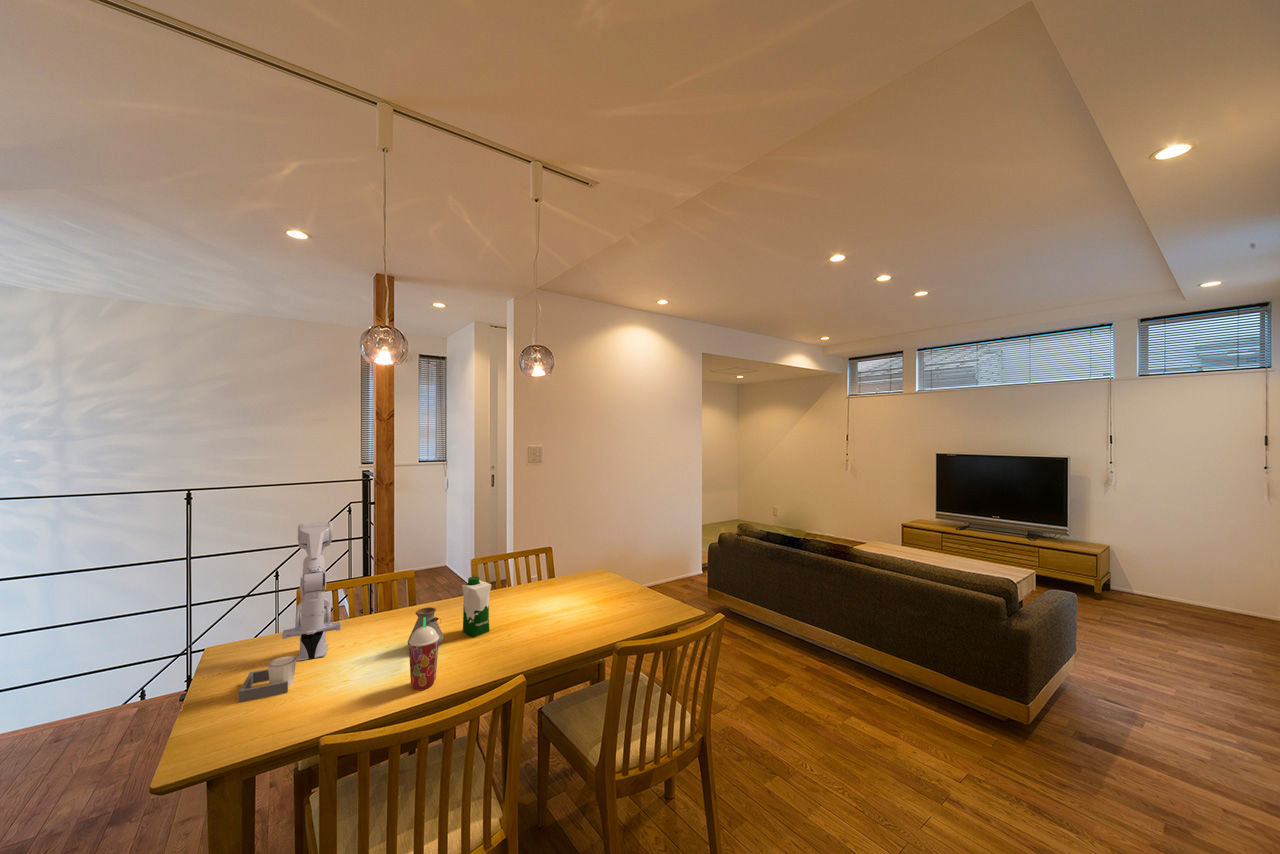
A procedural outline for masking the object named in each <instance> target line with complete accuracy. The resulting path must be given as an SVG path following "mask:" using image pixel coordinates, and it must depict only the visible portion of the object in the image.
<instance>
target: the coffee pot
mask: <svg viewBox="0 0 1280 854" xmlns="http://www.w3.org/2000/svg"><path fill="white" fill-rule="evenodd" d="M436 611H437V609H436V608H435V607H433V606H432V607H431V606H430V607H429V606H428V607H423V608H419V609H417V610H416V611H415V615H416V616H417V619H416V622H415V624H414V626H413V628H412V630H411V633H410V635H409V637H408V639H407V645H408V646H409V640H410V639H411V636H412V634H413V633H414V632H415V631H416V630H417V629H418V628H420V627H423V618H424V617H426V626H430V627H432V628H434V629H435V630H436V632H437V634H438V635H439V644H438V646H439V645H441V643H442V642H443V640H444V634H443V632H442V630H441V627H440V625H439V624H441V623H442V619H441V618H439V617H437V616H435V612H436ZM438 620H440V622H439V623H438Z"/></svg>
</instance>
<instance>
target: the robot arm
mask: <svg viewBox="0 0 1280 854" xmlns="http://www.w3.org/2000/svg"><path fill="white" fill-rule="evenodd" d="M332 538H333V522H332V521H322V522H310V523H309V522H308V523H299V524H298V525H297V542H298V543H297V544H298V547H299V549H302V550H305V552H306V554H307V556H306V557H304V559H303V561H302V562H303V563H302V576H301V575H300V579H299V581H300V584H299V591H300V602H299V603H298V604H297V606H296V609H295V611H296V612H295V621H294V623H295V624H294V626H295V627H293V628H289V629H284V630H283V631H282V635H281V636H282V637H281V638H282V640H285V639H288V638H293V637H299V652H298V655H297V657H296V662H299V661H305V660H312V659H316V658H317V659H318V658H324V657H325V656H326V655H327V651H328V650H329V649H328V648H329V643H326V641H327V640H326V639H327V637H326V636H327V633H326V632H332V631H336V632H337V631H341V627H342V621H336V622H334V621H333V622H331V617H332V616H331V613H332V606H331V601H330V600H329V599H327V598H326V597H325V590H326V589H327V572H326V558H325V556H324V555H323V552H324V551H325V548H327V547H329V546H331V543H332ZM323 587H324V588H323Z"/></svg>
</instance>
